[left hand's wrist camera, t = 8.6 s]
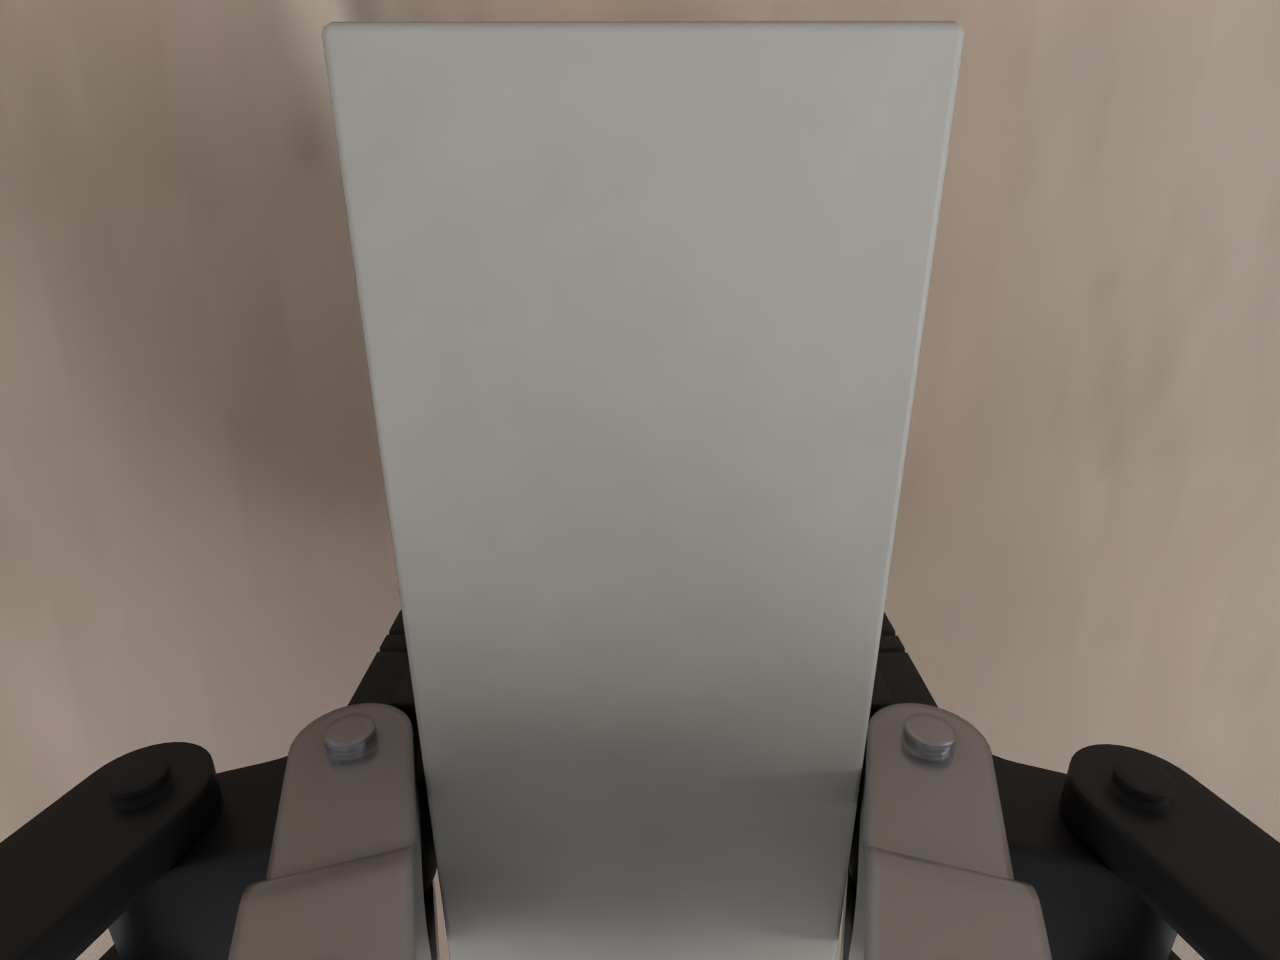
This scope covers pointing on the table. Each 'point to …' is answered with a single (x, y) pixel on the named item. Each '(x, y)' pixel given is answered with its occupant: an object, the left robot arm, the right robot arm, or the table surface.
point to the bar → (643, 451)
